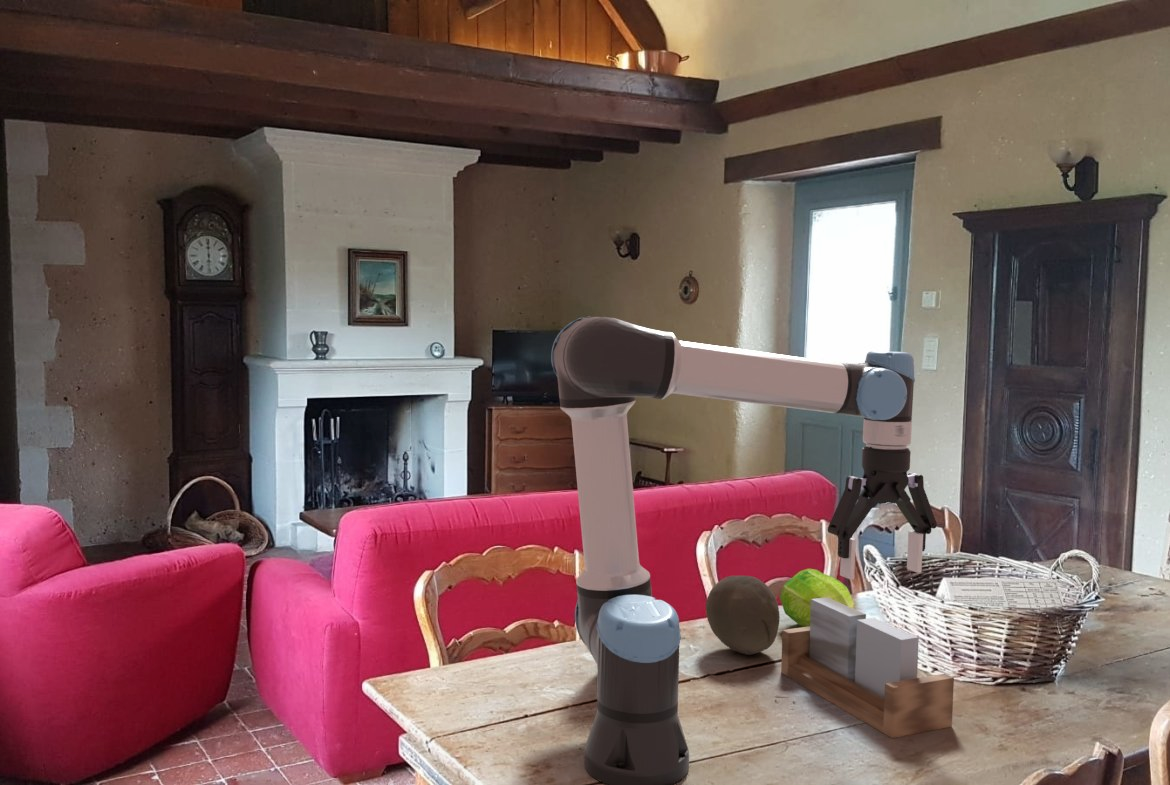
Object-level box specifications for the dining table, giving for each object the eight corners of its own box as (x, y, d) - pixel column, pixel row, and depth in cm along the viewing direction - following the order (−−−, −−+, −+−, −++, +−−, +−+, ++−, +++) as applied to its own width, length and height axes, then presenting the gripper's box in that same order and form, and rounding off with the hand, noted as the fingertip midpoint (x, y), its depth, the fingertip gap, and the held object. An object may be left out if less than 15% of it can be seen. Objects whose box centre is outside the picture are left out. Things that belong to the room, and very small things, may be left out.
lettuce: (818, 652, 190) (820, 592, 189) (769, 621, 209) (771, 566, 208) (880, 646, 194) (882, 587, 193) (826, 616, 213) (828, 562, 212)
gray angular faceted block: (898, 713, 155) (901, 639, 155) (854, 688, 166) (857, 619, 165) (915, 710, 157) (918, 637, 156) (871, 686, 167) (873, 617, 166)
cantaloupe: (775, 642, 195) (777, 568, 194) (781, 667, 181) (784, 588, 180) (704, 639, 197) (706, 566, 196) (705, 663, 183) (707, 585, 182)
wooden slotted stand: (891, 738, 151) (894, 649, 150) (781, 672, 178) (783, 597, 177) (951, 726, 155) (955, 640, 154) (835, 664, 183) (837, 591, 182)
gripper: (837, 451, 150) (832, 586, 152) (963, 446, 160) (956, 573, 161) (808, 445, 157) (804, 574, 159) (930, 441, 167) (925, 562, 168)
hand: (881, 574), depth 160 cm, fingers open, 13 cm apart
